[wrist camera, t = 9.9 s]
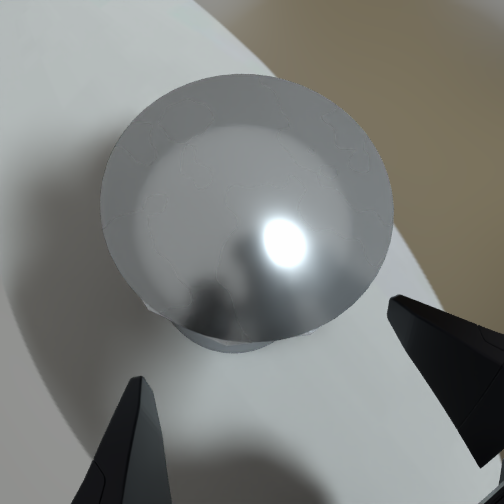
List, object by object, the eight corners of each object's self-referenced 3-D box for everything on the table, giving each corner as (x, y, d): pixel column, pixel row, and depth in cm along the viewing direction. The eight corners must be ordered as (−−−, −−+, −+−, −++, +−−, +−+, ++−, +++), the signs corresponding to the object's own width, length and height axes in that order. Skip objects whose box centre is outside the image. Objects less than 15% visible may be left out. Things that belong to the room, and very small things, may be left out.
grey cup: (315, 289, 19) (438, 219, 7) (221, 361, 17) (217, 411, 6) (245, 200, 20) (273, 48, 8) (152, 264, 18) (60, 158, 7)
